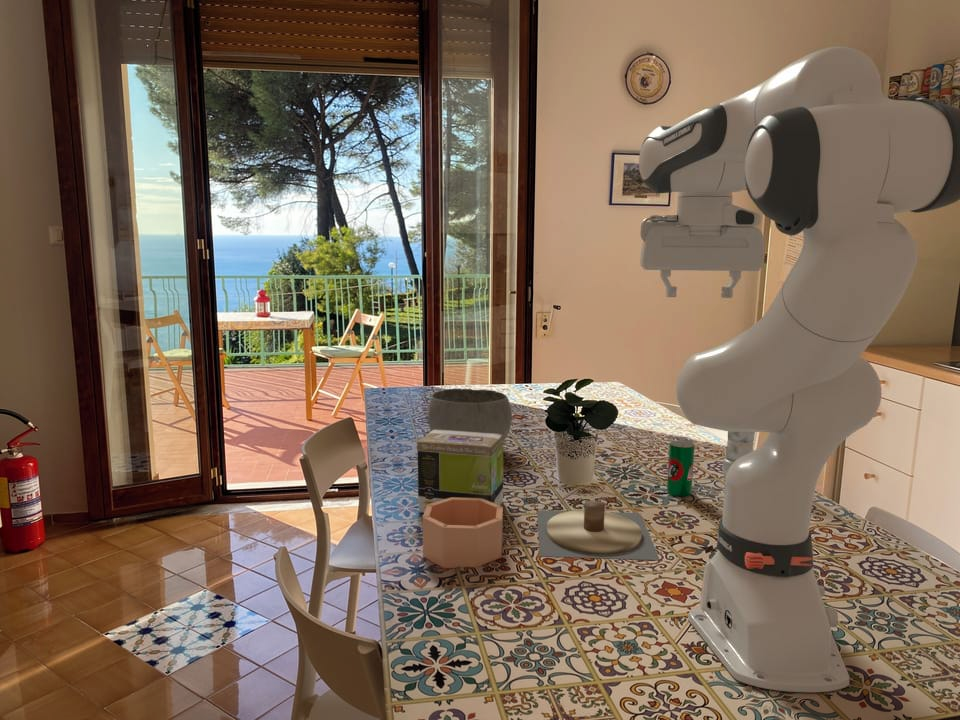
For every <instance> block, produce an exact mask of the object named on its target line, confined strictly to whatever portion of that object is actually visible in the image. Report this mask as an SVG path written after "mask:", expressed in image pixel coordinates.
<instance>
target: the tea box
mask: <svg viewBox="0 0 960 720" xmlns="http://www.w3.org/2000/svg"><path fill="white" fill-rule="evenodd" d="M416 445H417V446H416V447H417V450H416V451H417V454H416V455H417V456H416V457H417V499H418V500H417V502H418V512H419V513H423V514H424V512H425V509H426V506H427V505H428V504H431V503H435V502H438V501H441V500H444V499H447V498H451V497H459V498H483V499H485V500H487V501H490V502H492V503H494V504H497V505H499V506H502V504H503V502H504V441H503V434H496V433H481V432H467V431H452V430H437V429H434V430H432V431H431V430H430V432H428V433H426V435H424V436H423V437H422V438H421V439H419V440H418V441H417V443H416Z"/></svg>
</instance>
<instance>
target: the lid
mask: <svg viewBox="0 0 960 720" xmlns="http://www.w3.org/2000/svg"><path fill="white" fill-rule="evenodd" d="M605 506H606V504H605V502H602V501H600V500H599V501H598V500H588V501H586V502H584V509H579V510H567V511H568V512H564V513H561V514H558V515H555V516H554V517H552V518H551V519H550V520H549V521H548V522H547V531H546V532H547V535H548V537H549V538H550V539H551V540H552V541H553V542H555V543H556V544H558V545H560V546H562V547H565V548H567V549H570V550H574V551H578V552H583V553H591V554H613V553H620V552H624V551H628V550H630V549H633V548H635V547H636V546H637V545H639V543H640V542H641V539H642V530H641V528H640V527H639V525H638V524H636V523H635V522H634V521H632V520H630V519H628V518H626V517H624V516H621V515H618V514H614V513H615V512H614V513H610V511H605V508H606V507H605Z"/></svg>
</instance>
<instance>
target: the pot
mask: <svg viewBox="0 0 960 720" xmlns="http://www.w3.org/2000/svg"><path fill="white" fill-rule="evenodd" d="M503 509H504V507H503V506H502V505H500V506H499V505H497V504H494V503H492V502H490V501H487V500H485V499H483V498H459V497H451V498H447V499H444V500H441V501H438V502H435V503H431V504H428V505H427V506H426V509H425V512H424V513H423V515H422V557H423V558H425V559H427V560H428V561H430V562H432V563H434V564H435V565H438V566H439V567H440V568H443V569H457V568H458V567H461V568H462V567H463V568H479V567H481V566H483V565H486V564H488V563H491V562H492V561H493V562H494V561H495V560H498V559H501V558H502V552H503V551H502V550H503V527H504V526H503V524H504V523H503V519H504V518H503V517H504V511H503Z"/></svg>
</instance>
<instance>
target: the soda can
mask: <svg viewBox="0 0 960 720" xmlns="http://www.w3.org/2000/svg"><path fill="white" fill-rule="evenodd" d="M668 444H669V446H668V447H669V448H668V461H667V477H666V480H667V481H666V492H667V494H668V495H671V496H673V497H676V498H677V497H678V498H679V497H680V498H686V497H689V496H691V495H692V493H693V492H692V491H693V481H694V480H693V479H694V478H693V477H694V476H693V475H694V463H695V449H696V447H695V444H694V440H693V439H692V438H690V437H687V436H673V437H671V441H669V443H668Z"/></svg>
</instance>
